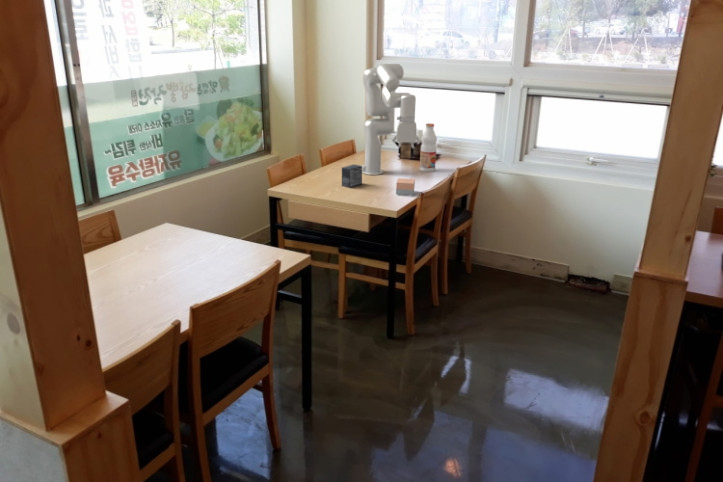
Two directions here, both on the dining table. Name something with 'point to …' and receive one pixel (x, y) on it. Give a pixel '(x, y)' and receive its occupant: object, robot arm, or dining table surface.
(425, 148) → the fruit juice
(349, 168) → the small box
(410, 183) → the tower top
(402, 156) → the block
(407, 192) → the tower base
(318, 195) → the dining table surface
